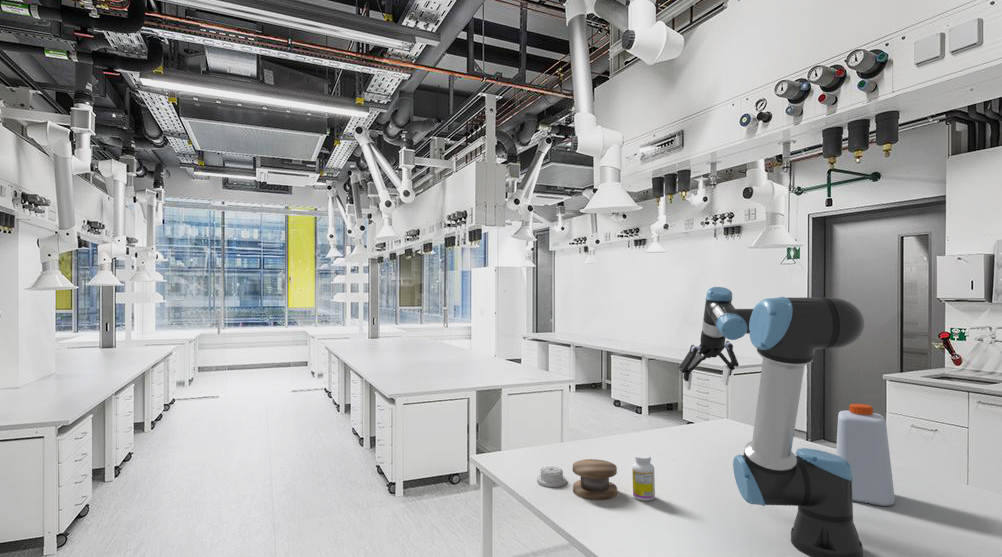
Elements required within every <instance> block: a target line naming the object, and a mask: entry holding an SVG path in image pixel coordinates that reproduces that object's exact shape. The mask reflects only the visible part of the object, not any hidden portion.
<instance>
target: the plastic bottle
mask: <svg viewBox="0 0 1002 557" xmlns="http://www.w3.org/2000/svg"><path fill="white" fill-rule="evenodd" d="M848 406H849V408H848V409H849V410H841V411H839V412H838V415H837V428H836V429H837V432H836V453H835V455H837V456H839V457H842V458H843V459H845V460H846V461H848V463H849V464H850V466H851V472H852V478H853V481H852V498H853V501H854V502H857V503H864V504H868V503H869V505H875V506H881V507H889V506H893V504H895V501H896V497H895V489H894V483H893V482H894V481H893V473H892V471H893V470H892V462H891V452H890V446H889V439H888V438H889V437H888V428H887V422H886V419H885V416H884V415H882V414H880V413H876V412H874V408H873V406H872V405H870V404H865V403H851V404H849V405H848Z"/></svg>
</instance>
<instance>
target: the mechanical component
mask: <svg viewBox="0 0 1002 557" xmlns="http://www.w3.org/2000/svg"><path fill="white" fill-rule="evenodd" d="M536 482H537V484H538V485H540V486H542V487H546V488H558V487H562V486H565V485H567V477H566V476H565V475H564V471H563V469H562V468H559V466H545V467H542V468H541V469H540V474H539V475H538V476H537V477H536Z"/></svg>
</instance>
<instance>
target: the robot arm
mask: <svg viewBox="0 0 1002 557" xmlns="http://www.w3.org/2000/svg"><path fill="white" fill-rule="evenodd" d="M732 301H733V292H732V291H731V290H730V289H729V288H727V287H724V286H713V287H710V288H709V289H708V290H707V292H706V296H705V304H704V312H703V320H702V327H701V333H700V344H699V345H698V346H697V345H696V346H695V345H694V344H691V346H690V348H689V351H688V352H687V354H686V356H685V357H684V359H683V361H682V362H681V364H680V365H679V367H678V369H679V370H680V372H681V373H683V380H684V387H685V388H686V389H687V391H690V390H691V387H692V379H693V373H692V372H693V371H694V370H695V369H696V368H697V367H698V366H699V364H700V363H702V362H703V361H705V360H706V359H711V358H717V357H718V356H719V358H720V359H721V360H722V362H724V363H725V365H723V369H722V375H721V380H720V381H721V382H722V383H723V384H724V385H725V386H728V384H729V379H730V377H731V376H732V372H733V371H734V370H735V369H736V368H735V367H739V362H738V360H737V357H736V355H735V352H734V345H733V343H731V342H730V341H729V340H731V341H736V340H739V339H741V338H743V337H744V336H745V335H748V334H749V340H750V342H751V344H752V345H753V347H754V348H756V353H757V354H758V355H759V356H760V357H761V358H762V362H761V363H762V364H761V371H760V372H761V373H760V377H759V378H760V379H759V386H758V392H757V393H758V394H757V402H756V403H757V404H756V409H755V417H754V426H753V433H752V440H751V441H749V442H747V443H746V444H745V446H744V451H743V454H740V453H739V454H738V455H735V456H734V457H733V459H732V466H733V475H734V479H735V483H736V487H737V488H738V491H739V494H740V495H741V497H742V498H743V500H744V501H745V502H746V503H748V504H750V505H756V506H757V505H758V506H763V507H765V506H791V507H793V506H794V507H797V514H796V516H795V519H794V522H793V523H794V524H793V526H792V527H791V530H790V542H791V544H792V545H793V547H795V548H796V549H797V550H798V551H800V552H802V553H803V554H805V555H808V556H810V557H864V551H863V550H864V547H863V544H862V541H861V540H860V537H859V534H858V530H857V528H856V525H855V523H854V507H853V506H854V504H853V503H854V502H853V498H852V481H853V478H852V472H851V466H850V464H849V463H848V461H846V460H845V459H843V458H842V457H839V456H837V455H836V454H834V453H832V452H831V453H830V452H827V451H824V450H820V449H814V448H808V447H807V448H805V447H800V448H798V449H796V451H795V453H794V452H793V451H792V449H793V443H794V436H795V430H796V429H795V428H796V423H797V416H798V409H799V404H800V403H799V402H800V397H801V390H802V384H803V378H804V373H805V372H804V371H805V367H806V366H807V365H808V364H811V363H812V362H814V361H813V360H814V358H815V353H816V350H828V349H829V350H830V349H831V350H832V349H839V348H843V347H847V346H850V345H851V344H853V343H855V342H856V341H857V340H859V338H860V337H861V336H862V334H863V333H864V329H865V318H864V316H863V314H862V312H861V310H860V309H859V308H858V307H857V306H856V305H855V304H853V303H852V302H850V301H847V300H846V299H843V298H839V297H831V296H830V297H829V296H822V297H817V296H815V297H785V296H778V297H772V298H771V297H770V298H763V299H762V300H759V302H758V303H757V304H756V305H755V306H754V308H735V307H734V305H733V304H732ZM726 339H727V340H726ZM724 349H725V350H726V351H727V354H728V357H729V359H730V361H729V360H728V358H727V357H726V356H725V355H724V353H722V352H723V350H724Z"/></svg>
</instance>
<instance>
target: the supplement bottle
mask: <svg viewBox="0 0 1002 557" xmlns="http://www.w3.org/2000/svg"><path fill="white" fill-rule="evenodd" d="M634 456H635V457H634V458H635V462H634V463H633V464H632V466H631V467H632V496H633V497H634V499H635V500H639V501H644V502H650V501H652V500H655V499H656V498H655V497H656V487H655V486H656V484H655V483H656V482H655V481H656V480H655V467H654V465H653V464H652V463H651V461H652V456H651V455H650V454H646V453H637V454H635V455H634Z"/></svg>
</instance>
